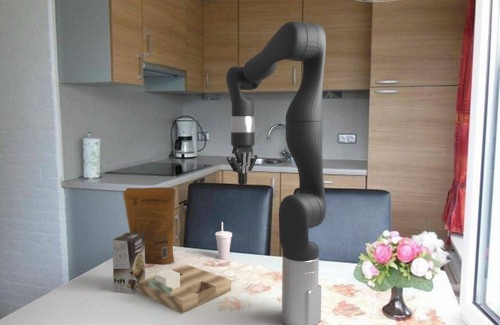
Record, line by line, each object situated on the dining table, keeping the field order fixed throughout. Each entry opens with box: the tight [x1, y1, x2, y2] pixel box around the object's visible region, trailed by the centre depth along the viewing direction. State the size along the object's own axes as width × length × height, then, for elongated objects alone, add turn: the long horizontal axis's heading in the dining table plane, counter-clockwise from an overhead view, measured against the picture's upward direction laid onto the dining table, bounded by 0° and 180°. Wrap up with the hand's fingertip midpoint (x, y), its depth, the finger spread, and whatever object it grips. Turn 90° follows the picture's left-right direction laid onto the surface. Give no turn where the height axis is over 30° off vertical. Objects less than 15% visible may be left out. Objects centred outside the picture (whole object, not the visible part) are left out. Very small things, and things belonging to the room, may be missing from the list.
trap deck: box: [138, 264, 232, 314], centre depth 122 cm, size 20×19×6 cm
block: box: [154, 268, 180, 290], centre depth 117 cm, size 5×5×4 cm
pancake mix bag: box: [122, 187, 177, 266], centre depth 146 cm, size 7×19×28 cm, turn 79°
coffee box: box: [112, 232, 146, 294], centre depth 125 cm, size 9×6×16 cm
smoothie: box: [214, 221, 233, 261], centre depth 152 cm, size 6×6×14 cm
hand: (242, 184), depth 130 cm, fingers closed
